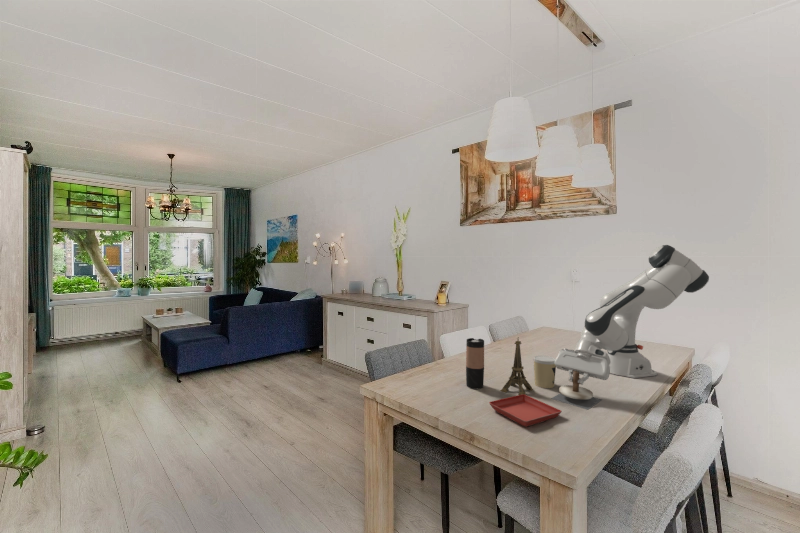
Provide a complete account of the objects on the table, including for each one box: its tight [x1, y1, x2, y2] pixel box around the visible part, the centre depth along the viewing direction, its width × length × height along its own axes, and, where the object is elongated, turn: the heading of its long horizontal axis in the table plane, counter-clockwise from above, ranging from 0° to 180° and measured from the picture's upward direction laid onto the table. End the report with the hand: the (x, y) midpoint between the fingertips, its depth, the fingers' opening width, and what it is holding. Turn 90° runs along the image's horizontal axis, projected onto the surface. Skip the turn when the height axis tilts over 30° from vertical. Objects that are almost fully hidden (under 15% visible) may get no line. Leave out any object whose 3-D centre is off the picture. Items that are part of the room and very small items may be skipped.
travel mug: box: [465, 337, 485, 390], centre depth 163 cm, size 8×8×20 cm
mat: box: [550, 392, 603, 411], centre depth 149 cm, size 14×14×1 cm
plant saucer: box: [488, 393, 563, 428], centre depth 136 cm, size 18×18×3 cm
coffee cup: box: [533, 355, 557, 389], centre depth 164 cm, size 9×9×12 cm
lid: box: [558, 371, 594, 400], centre depth 149 cm, size 12×12×8 cm
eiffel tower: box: [499, 338, 534, 395], centre depth 158 cm, size 11×11×25 cm
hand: (575, 382), depth 148 cm, fingers closed on lid, 2 cm apart
